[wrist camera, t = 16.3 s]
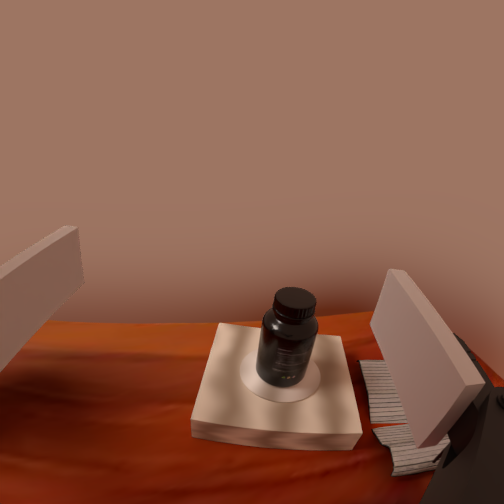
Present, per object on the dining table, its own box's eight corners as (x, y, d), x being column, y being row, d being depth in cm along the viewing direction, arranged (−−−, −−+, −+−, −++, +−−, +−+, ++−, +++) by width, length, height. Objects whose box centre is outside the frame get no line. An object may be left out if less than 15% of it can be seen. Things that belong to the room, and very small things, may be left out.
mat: (457, 365, 47) (467, 346, 45) (504, 455, 25) (522, 436, 23) (353, 366, 48) (362, 344, 46) (380, 486, 26) (396, 468, 24)
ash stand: (191, 436, 32) (190, 417, 30) (218, 341, 50) (219, 321, 49) (351, 450, 31) (363, 431, 29) (334, 354, 49) (340, 334, 48)
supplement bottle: (250, 355, 41) (261, 281, 37) (297, 353, 43) (314, 281, 38) (259, 391, 35) (273, 314, 31) (311, 387, 36) (334, 312, 32)
